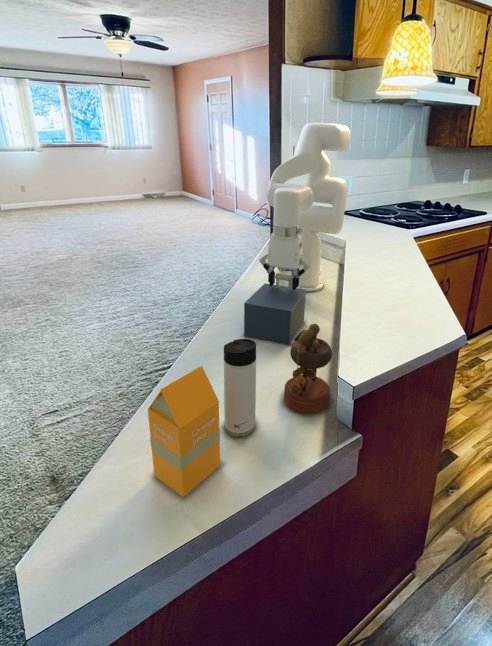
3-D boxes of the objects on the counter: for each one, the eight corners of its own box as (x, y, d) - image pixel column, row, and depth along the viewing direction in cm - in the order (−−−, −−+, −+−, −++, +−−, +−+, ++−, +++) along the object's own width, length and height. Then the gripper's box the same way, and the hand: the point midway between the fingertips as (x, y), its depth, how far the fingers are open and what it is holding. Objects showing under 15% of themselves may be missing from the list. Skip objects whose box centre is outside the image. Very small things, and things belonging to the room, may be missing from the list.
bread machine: (263, 314, 135) (263, 286, 131) (303, 321, 132) (305, 293, 128) (244, 336, 121) (244, 305, 117) (289, 345, 118) (290, 313, 114)
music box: (320, 424, 87) (320, 341, 80) (273, 414, 91) (269, 333, 84) (340, 385, 101) (341, 311, 94) (298, 377, 104) (296, 305, 97)
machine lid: (264, 285, 132) (265, 269, 130) (306, 292, 129) (307, 275, 127) (244, 305, 117) (244, 287, 115) (290, 313, 114) (291, 295, 112)
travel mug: (240, 443, 81) (241, 355, 73) (218, 427, 85) (216, 343, 77) (262, 426, 86) (264, 343, 78) (240, 412, 89) (240, 331, 82)
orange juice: (153, 475, 72) (143, 380, 65) (191, 446, 79) (187, 357, 72) (183, 498, 69) (177, 399, 61) (221, 465, 75) (219, 373, 68)
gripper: (317, 231, 123) (313, 286, 129) (262, 224, 127) (261, 278, 133) (311, 237, 116) (307, 295, 123) (253, 230, 120) (252, 286, 126)
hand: (283, 286), depth 128 cm, fingers open, 6 cm apart
